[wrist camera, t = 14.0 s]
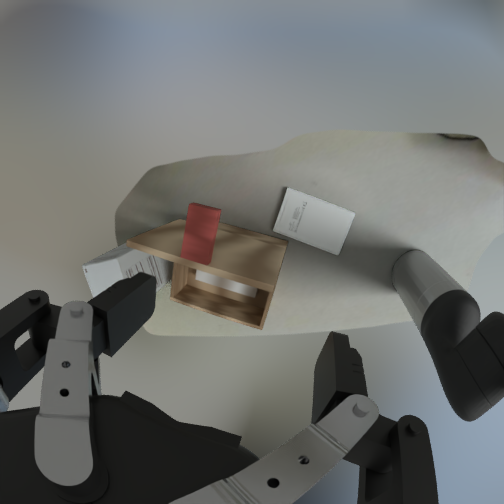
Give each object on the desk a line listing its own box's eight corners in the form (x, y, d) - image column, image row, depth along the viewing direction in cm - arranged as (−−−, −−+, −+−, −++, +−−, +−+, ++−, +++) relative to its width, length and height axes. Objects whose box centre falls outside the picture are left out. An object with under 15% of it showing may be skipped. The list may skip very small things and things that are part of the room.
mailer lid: (284, 253, 43) (296, 210, 41) (272, 292, 29) (290, 230, 27) (178, 223, 45) (185, 183, 43) (126, 246, 31) (132, 190, 29)
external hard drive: (337, 253, 49) (273, 229, 50) (354, 211, 46) (288, 186, 47) (338, 256, 47) (272, 231, 48) (355, 213, 45) (287, 187, 46)
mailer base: (288, 241, 49) (284, 253, 43) (267, 311, 55) (262, 330, 48) (195, 215, 52) (179, 223, 45) (184, 284, 57) (170, 299, 50)
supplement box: (144, 278, 59) (98, 313, 43) (131, 238, 56) (79, 265, 41) (180, 273, 56) (136, 312, 41) (167, 230, 54) (116, 257, 38)
